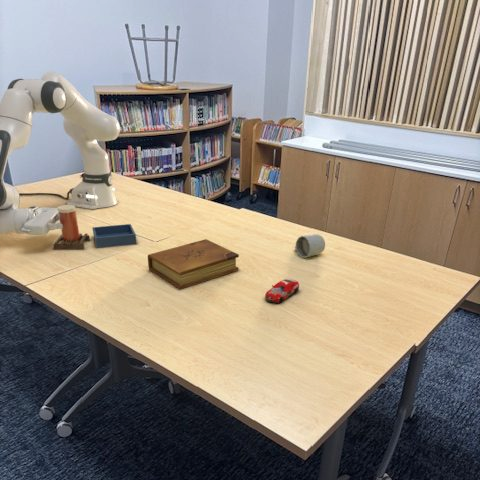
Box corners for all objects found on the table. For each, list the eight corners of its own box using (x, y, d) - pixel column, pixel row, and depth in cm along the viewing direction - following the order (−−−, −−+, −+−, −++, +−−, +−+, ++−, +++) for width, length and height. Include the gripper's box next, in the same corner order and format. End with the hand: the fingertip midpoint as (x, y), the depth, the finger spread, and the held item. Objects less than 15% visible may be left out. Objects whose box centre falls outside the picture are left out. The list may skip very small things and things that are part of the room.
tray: (96, 248, 173) (95, 238, 171) (93, 236, 183) (92, 227, 181) (136, 244, 177) (135, 234, 175) (131, 233, 187) (130, 223, 185)
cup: (61, 240, 172) (55, 209, 166) (65, 235, 177) (60, 204, 171) (77, 240, 172) (72, 209, 166) (81, 235, 177) (76, 204, 171)
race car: (276, 306, 136) (277, 293, 134) (261, 300, 139) (262, 288, 137) (302, 290, 145) (303, 279, 143) (287, 285, 148) (288, 274, 146)
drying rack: (54, 249, 171) (52, 242, 170) (61, 239, 180) (60, 233, 179) (83, 249, 172) (82, 242, 170) (90, 239, 180) (89, 233, 179)
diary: (205, 253, 170) (204, 238, 167) (238, 270, 158) (238, 254, 155) (148, 269, 157) (147, 253, 154) (180, 289, 145) (179, 271, 142)
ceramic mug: (325, 255, 170) (327, 235, 166) (308, 260, 166) (310, 239, 162) (305, 247, 178) (307, 227, 174) (288, 251, 173) (290, 231, 170)
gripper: (14, 222, 160) (56, 222, 161) (34, 204, 178) (72, 204, 179) (18, 240, 163) (59, 240, 164) (38, 221, 181) (75, 221, 182)
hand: (66, 221), depth 171 cm, fingers open, 8 cm apart
